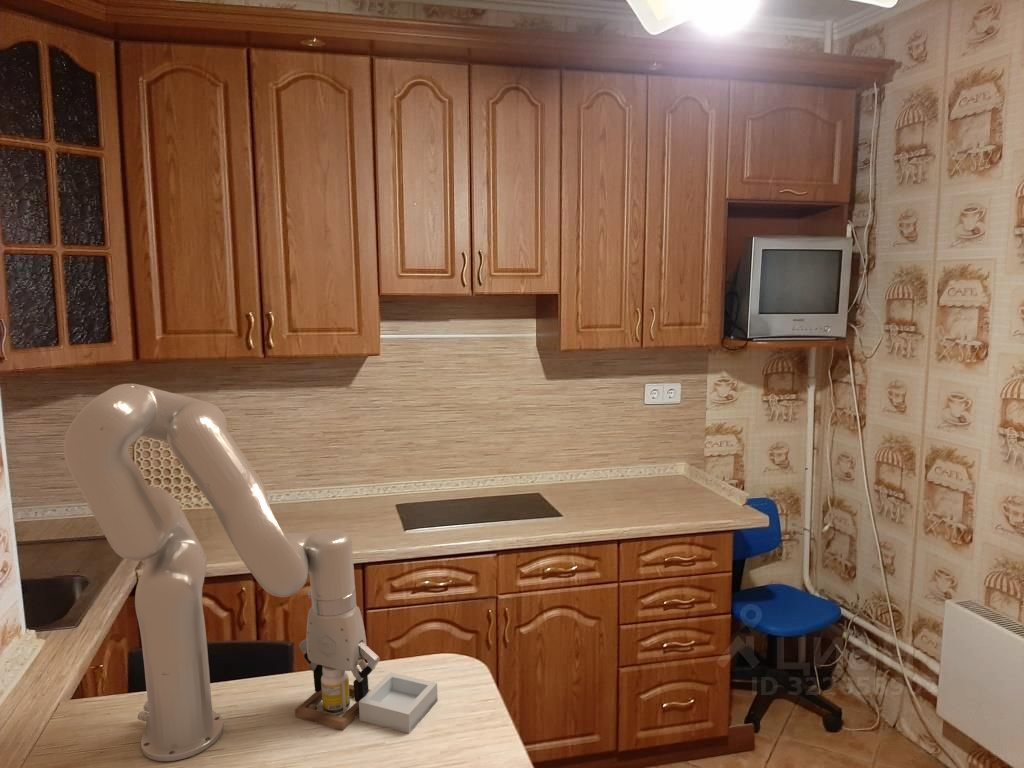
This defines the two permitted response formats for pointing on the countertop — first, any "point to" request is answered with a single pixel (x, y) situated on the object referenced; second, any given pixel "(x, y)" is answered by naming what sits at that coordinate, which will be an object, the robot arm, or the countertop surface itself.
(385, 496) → the countertop surface
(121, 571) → the countertop surface
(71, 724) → the countertop surface
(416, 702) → the grey square open box
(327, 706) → the supplement bottle
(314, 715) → the tray
